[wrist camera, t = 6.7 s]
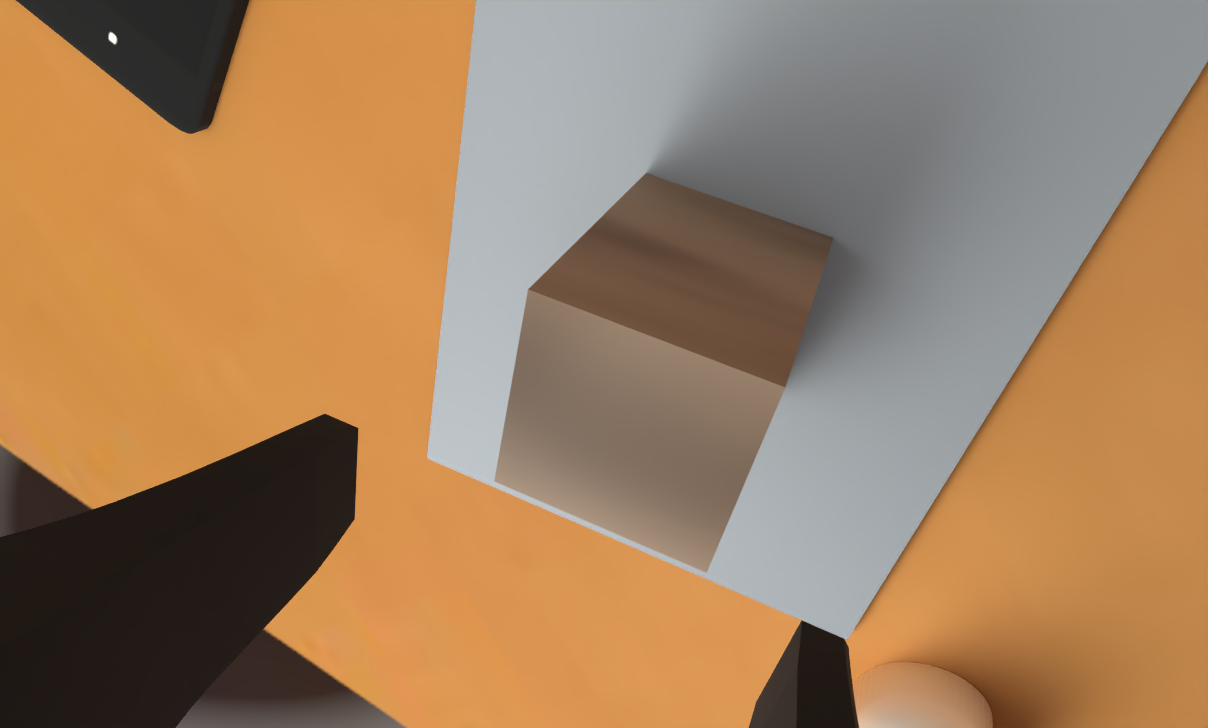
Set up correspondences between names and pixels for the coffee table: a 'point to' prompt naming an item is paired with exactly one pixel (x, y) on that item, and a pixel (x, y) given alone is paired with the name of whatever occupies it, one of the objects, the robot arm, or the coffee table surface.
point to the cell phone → (155, 48)
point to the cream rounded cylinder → (918, 698)
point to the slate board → (814, 223)
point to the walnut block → (658, 365)
